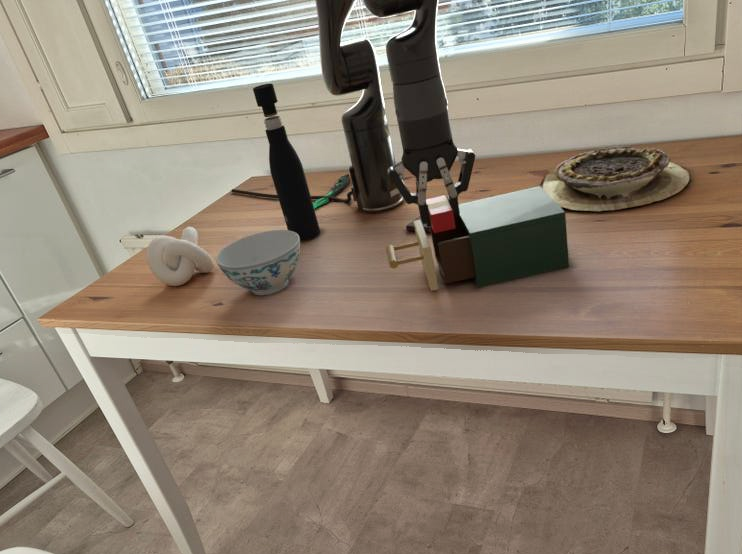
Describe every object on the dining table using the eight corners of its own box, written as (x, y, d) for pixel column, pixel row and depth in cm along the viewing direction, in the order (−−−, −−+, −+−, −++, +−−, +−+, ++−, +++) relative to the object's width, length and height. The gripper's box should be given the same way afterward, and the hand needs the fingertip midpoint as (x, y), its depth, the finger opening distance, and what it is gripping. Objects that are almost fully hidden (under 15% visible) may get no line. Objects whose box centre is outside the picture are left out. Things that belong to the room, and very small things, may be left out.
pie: (702, 160, 133) (703, 134, 130) (669, 214, 114) (669, 186, 112) (565, 163, 148) (563, 140, 145) (516, 211, 129) (513, 186, 127)
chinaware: (273, 311, 113) (260, 269, 109) (213, 302, 121) (198, 263, 117) (327, 271, 123) (316, 231, 119) (267, 265, 131) (255, 228, 127)
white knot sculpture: (168, 269, 140) (152, 229, 135) (224, 258, 139) (209, 217, 135) (154, 293, 130) (136, 250, 126) (214, 281, 130) (198, 237, 125)
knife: (345, 173, 171) (362, 172, 169) (345, 176, 172) (362, 175, 170) (296, 209, 155) (315, 208, 152) (297, 212, 155) (316, 211, 153)
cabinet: (477, 287, 106) (469, 233, 101) (462, 254, 117) (454, 205, 113) (569, 266, 105) (565, 211, 101) (544, 236, 117) (539, 185, 112)
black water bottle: (326, 229, 142) (285, 79, 127) (310, 241, 137) (266, 88, 122) (301, 229, 145) (258, 83, 130) (284, 242, 140) (239, 92, 125)
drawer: (396, 298, 106) (387, 256, 102) (389, 267, 116) (381, 228, 113) (515, 272, 106) (510, 228, 102) (497, 243, 116) (492, 203, 112)
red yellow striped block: (456, 228, 104) (452, 209, 102) (434, 233, 104) (430, 214, 102) (448, 212, 110) (445, 194, 108) (427, 217, 110) (424, 199, 108)
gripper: (464, 95, 101) (479, 205, 110) (372, 116, 101) (395, 224, 110) (474, 104, 94) (489, 220, 103) (376, 127, 95) (399, 240, 104)
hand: (440, 221), depth 107 cm, fingers closed on red yellow striped block, 3 cm apart
